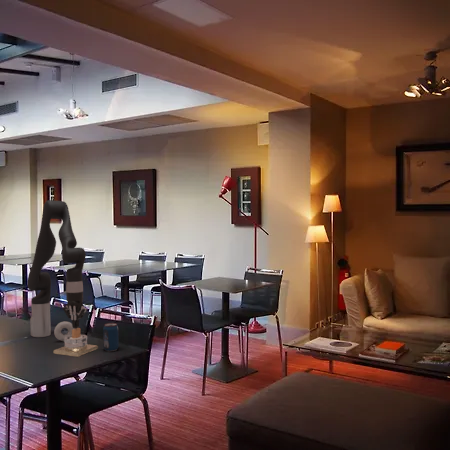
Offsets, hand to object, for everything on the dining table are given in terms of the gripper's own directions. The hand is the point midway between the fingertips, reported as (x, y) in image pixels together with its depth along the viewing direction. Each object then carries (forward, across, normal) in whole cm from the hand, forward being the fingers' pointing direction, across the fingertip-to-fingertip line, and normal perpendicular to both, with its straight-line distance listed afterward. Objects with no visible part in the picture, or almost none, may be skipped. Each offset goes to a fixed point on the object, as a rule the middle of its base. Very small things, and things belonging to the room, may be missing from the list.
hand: (75, 327), depth 238 cm
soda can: (+11, -14, -8) cm, 20 cm away
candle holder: (+11, 0, 0) cm, 11 cm away
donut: (+11, +18, -13) cm, 25 cm away
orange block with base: (+6, 0, 0) cm, 6 cm away
